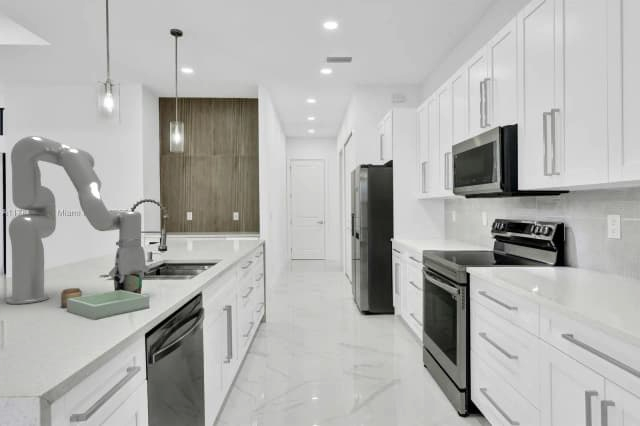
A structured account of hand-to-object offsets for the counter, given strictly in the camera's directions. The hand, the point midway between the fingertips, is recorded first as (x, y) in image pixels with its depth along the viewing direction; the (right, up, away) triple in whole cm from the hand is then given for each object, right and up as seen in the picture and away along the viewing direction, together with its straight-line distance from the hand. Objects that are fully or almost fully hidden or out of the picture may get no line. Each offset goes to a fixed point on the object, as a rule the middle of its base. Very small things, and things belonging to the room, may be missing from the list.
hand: (129, 291), depth 151 cm
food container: (0, -3, +1) cm, 3 cm away
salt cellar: (-14, -3, -13) cm, 19 cm away
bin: (+1, -3, -18) cm, 18 cm away
